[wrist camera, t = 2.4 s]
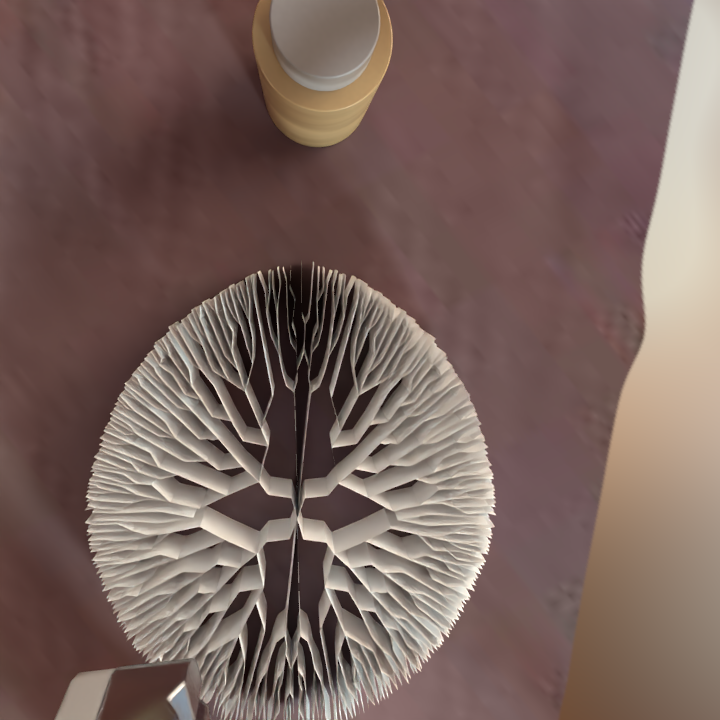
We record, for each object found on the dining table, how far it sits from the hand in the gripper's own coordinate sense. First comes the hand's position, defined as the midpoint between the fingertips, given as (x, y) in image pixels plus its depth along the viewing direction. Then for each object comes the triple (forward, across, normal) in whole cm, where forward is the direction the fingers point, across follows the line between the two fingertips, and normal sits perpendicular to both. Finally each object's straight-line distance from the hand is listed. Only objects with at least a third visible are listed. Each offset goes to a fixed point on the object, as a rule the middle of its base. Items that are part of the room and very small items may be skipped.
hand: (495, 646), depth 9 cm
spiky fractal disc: (+26, +4, +13) cm, 29 cm away
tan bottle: (+29, 0, -9) cm, 31 cm away
